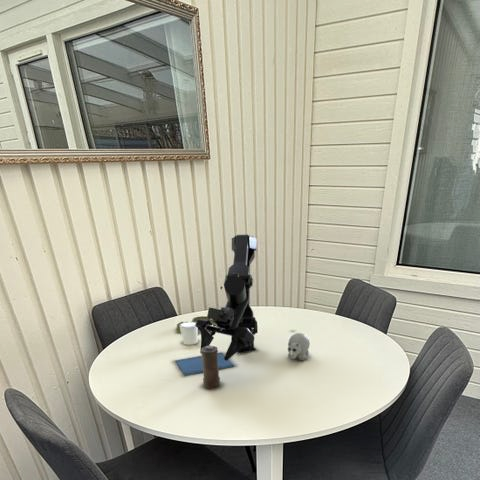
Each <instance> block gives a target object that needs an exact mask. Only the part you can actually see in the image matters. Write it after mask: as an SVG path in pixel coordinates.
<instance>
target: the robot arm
mask: <svg viewBox="0 0 480 480" xmlns="http://www.w3.org/2000/svg"><path fill="white" fill-rule="evenodd" d="M231 251H232V252H233V254H234V255H233V261H232V262H233V263H232V264H231V266H230V267H228V270H227V274H226V275H225V278H224V281H223V287H224V288H223V289H224V292H225V296H226V299H227V302H226V304H225V306H224V307H222V306H221V308H220V309H219V308H216V307H215V308H214V307H208V310H207V311H208V312H207V315H206V316H207V319H213V320H214V321H213V322H214V323H215V324H216V325H213V324H212V323H211V322H210V321H209V320H206V319H198V320H197V322H196V325H195V326H196V327H197V328H198V330H199V334H200V349H199V350H200V351H199V353H200V354H201V355H202V353H201V348H203V347H205V346H208V345H211V343H212V342H213V341H214V339H215V337H214V336H216V333H217V334H220V335H221V334H222V335H226V336H230V339H231V340H230V344H229V345H228V348H227V350H226V352H225V355H224V356H225V358H224V360H225V361H227V360H230V359H231V358H232V357H233V356H234V355H236V354H237V353H239V354H242V353H247V352H255V351H256V347H255V335H256V334H258V333H259V332H258V329H259V328H258V327H259V326H258V321H257V319H256V317H255V315H254V311H253V309H252V308H251V305H250V302H251V301H250V298H251V297H250V296H251V288H252V287H253V285H254V278H253V275H252V274H251V264H252V262H253V261H254V260H255V258H256V252H257V251H258V239H257V237H254V235H249V234H236V235H234V236H233V237H232V238H231Z"/></svg>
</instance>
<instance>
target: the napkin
mask: <svg viewBox="0 0 480 480" xmlns="http://www.w3.org/2000/svg"><path fill="white" fill-rule="evenodd" d="M217 356H218V370H224V369H228V368H234V367H235V365H234V364H233V363H232V362H231V361H230V359H228V360H227V361H225V360H224V358H225V355H224V354H223V352H217ZM174 363H176V365H177V366H178V368H179V370H180V371H181V373H182V374H183V375H184V377H187V376H191V375H196V374H203V364H202V355H199V356H194V357H193V356H192V357H187V358H181V359H177V360H175V361H174Z"/></svg>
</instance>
